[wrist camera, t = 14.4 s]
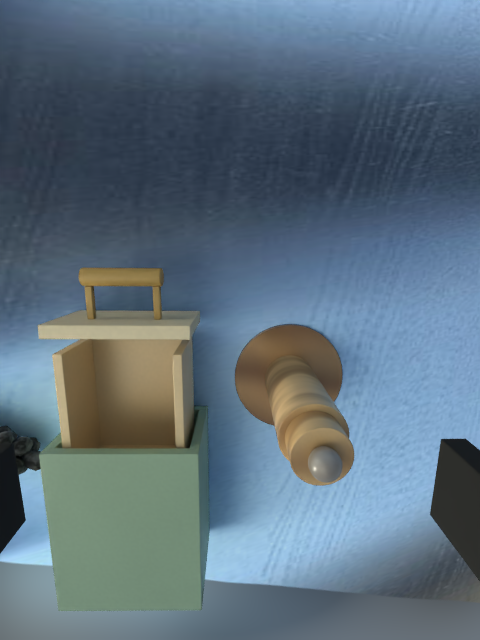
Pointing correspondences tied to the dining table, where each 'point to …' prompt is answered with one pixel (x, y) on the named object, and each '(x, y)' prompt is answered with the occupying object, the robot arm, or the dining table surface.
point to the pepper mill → (307, 422)
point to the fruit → (22, 449)
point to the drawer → (124, 369)
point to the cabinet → (129, 524)
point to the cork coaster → (273, 347)
